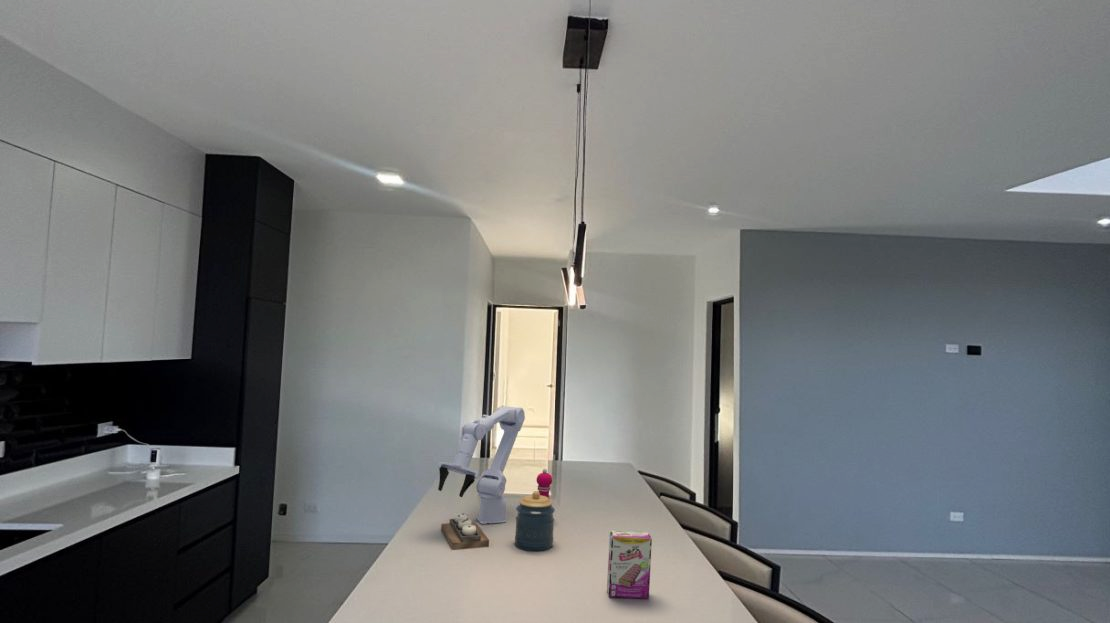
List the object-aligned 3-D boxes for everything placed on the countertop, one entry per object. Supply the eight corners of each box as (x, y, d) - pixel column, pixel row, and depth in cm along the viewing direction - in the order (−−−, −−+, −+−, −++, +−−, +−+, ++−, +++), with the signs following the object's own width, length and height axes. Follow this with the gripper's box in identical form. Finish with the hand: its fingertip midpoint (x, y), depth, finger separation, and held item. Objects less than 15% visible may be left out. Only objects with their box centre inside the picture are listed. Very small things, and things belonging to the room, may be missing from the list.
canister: (548, 553, 184) (551, 498, 185) (509, 548, 186) (512, 494, 187) (556, 540, 196) (559, 488, 197) (520, 536, 199) (522, 484, 200)
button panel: (474, 527, 206) (474, 517, 206) (488, 546, 188) (489, 535, 188) (441, 529, 202) (441, 519, 202) (452, 549, 183) (453, 538, 183)
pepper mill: (552, 520, 218) (555, 467, 219) (551, 526, 211) (553, 471, 212) (534, 518, 219) (536, 466, 220) (531, 524, 212) (534, 470, 213)
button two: (465, 518, 204) (465, 512, 204) (468, 522, 200) (468, 516, 200) (453, 519, 202) (453, 513, 202) (455, 523, 198) (456, 517, 198)
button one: (474, 530, 192) (474, 523, 192) (477, 534, 188) (477, 528, 188) (461, 531, 190) (461, 524, 190) (463, 535, 186) (464, 529, 186)
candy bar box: (608, 598, 153) (611, 536, 154) (606, 590, 158) (608, 530, 159) (650, 600, 153) (652, 537, 154) (646, 591, 158) (648, 531, 159)
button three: (469, 524, 198) (469, 518, 198) (472, 528, 194) (472, 521, 194) (456, 525, 196) (457, 518, 196) (459, 529, 192) (460, 522, 192)
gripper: (442, 446, 198) (427, 484, 191) (481, 457, 196) (467, 496, 189) (446, 452, 204) (432, 489, 197) (484, 463, 202) (471, 501, 195)
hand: (450, 493), depth 194 cm, fingers open, 7 cm apart
